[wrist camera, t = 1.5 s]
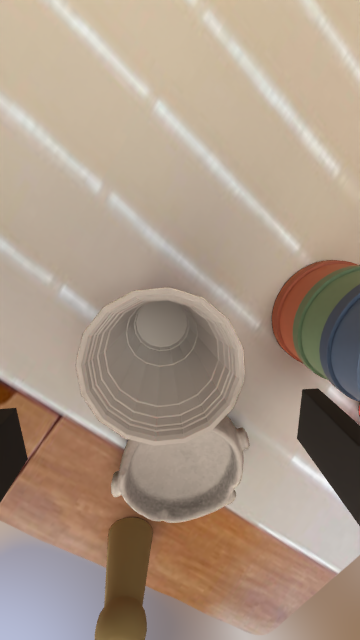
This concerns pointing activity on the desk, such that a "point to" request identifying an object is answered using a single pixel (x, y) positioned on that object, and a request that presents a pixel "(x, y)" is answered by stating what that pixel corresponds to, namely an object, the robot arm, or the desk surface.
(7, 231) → the desk surface
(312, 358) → the cup stack
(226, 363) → the plastic cup
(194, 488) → the dish
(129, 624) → the wooden peg doll
